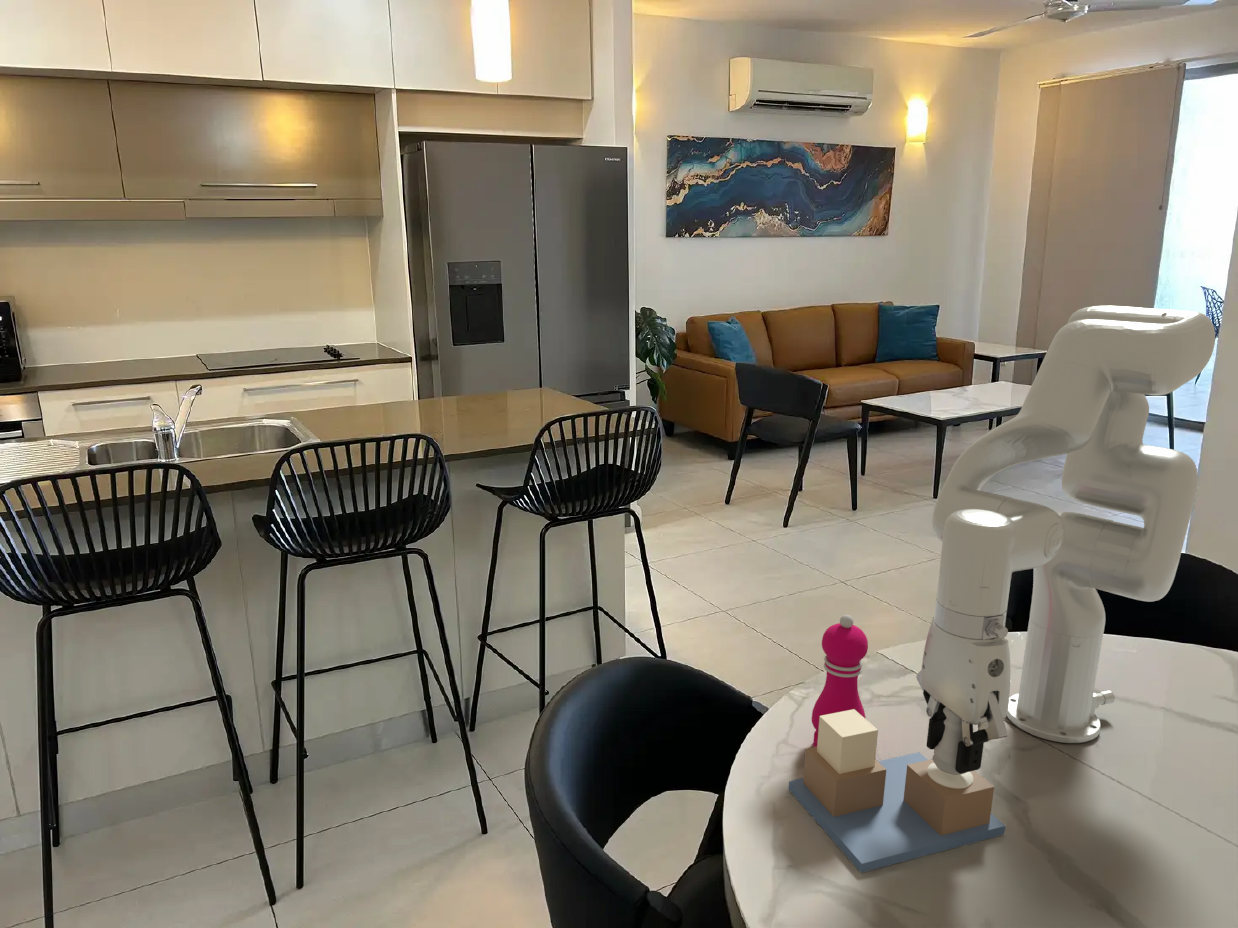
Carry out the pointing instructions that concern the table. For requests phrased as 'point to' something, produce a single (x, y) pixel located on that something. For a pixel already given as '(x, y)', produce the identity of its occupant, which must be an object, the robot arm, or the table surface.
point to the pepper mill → (841, 670)
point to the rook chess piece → (949, 743)
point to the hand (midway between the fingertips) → (952, 756)
